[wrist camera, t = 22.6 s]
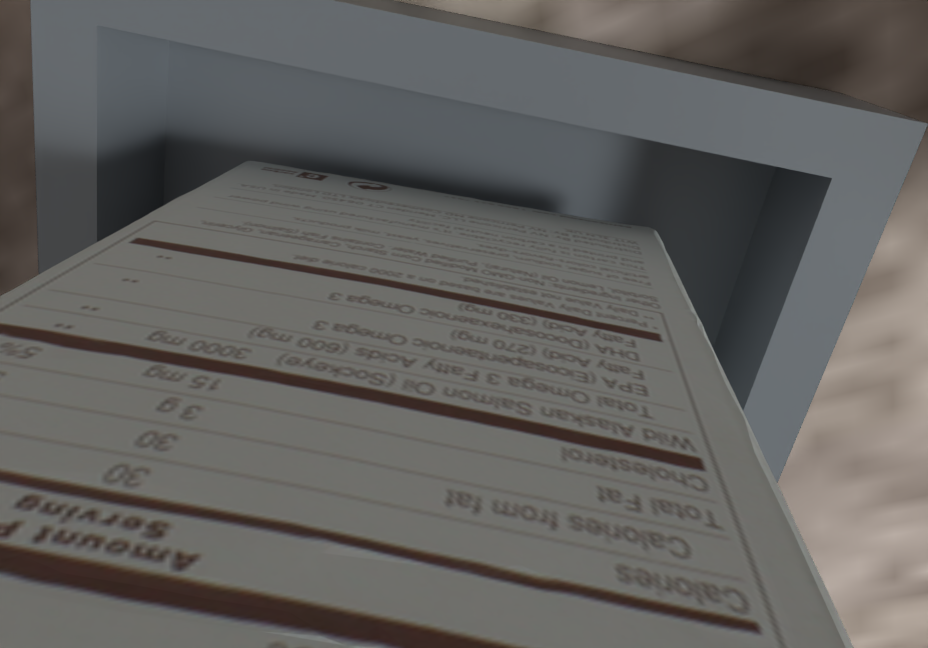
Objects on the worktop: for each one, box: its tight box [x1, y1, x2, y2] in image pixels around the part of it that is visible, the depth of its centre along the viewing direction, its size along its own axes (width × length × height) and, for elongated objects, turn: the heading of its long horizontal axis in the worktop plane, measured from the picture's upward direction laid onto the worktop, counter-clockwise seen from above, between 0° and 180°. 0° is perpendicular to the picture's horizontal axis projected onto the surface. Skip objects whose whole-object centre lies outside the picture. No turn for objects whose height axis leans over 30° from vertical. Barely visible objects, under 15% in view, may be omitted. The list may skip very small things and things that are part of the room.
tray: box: [30, 0, 928, 483], centre depth 15 cm, size 13×13×4 cm
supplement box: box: [0, 161, 853, 648], centre depth 9 cm, size 7×7×13 cm
